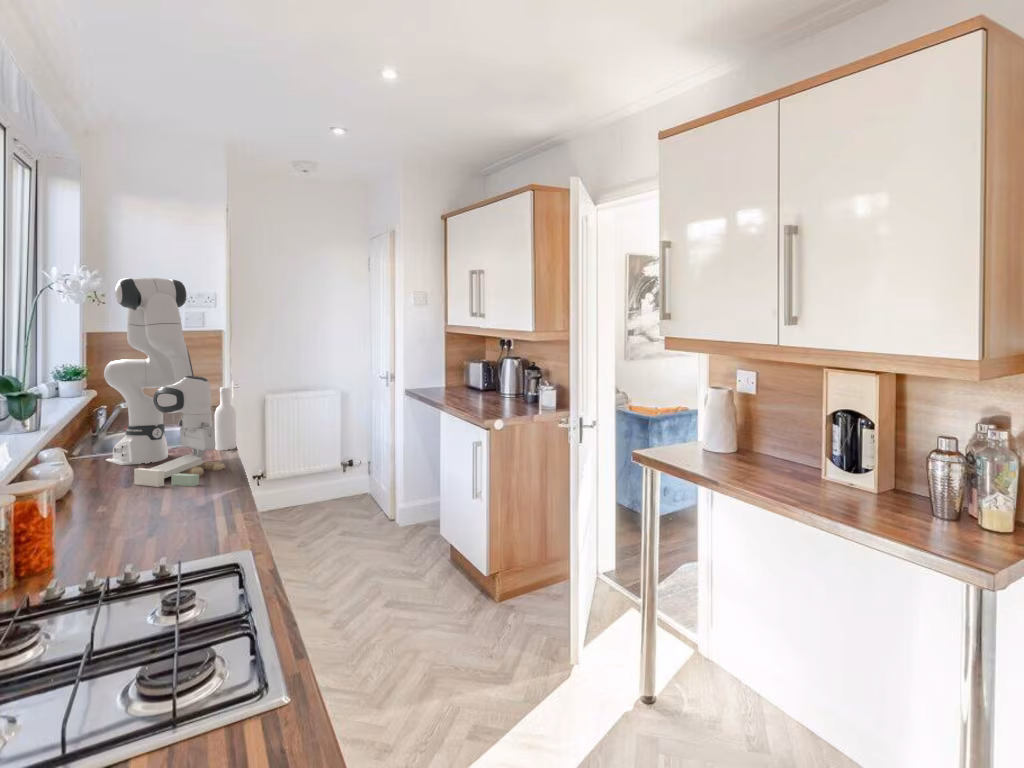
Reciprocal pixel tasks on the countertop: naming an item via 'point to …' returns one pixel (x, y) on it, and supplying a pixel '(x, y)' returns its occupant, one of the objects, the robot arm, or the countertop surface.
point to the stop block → (149, 477)
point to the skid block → (185, 479)
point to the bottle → (225, 422)
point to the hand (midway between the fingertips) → (198, 461)
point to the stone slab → (179, 465)
